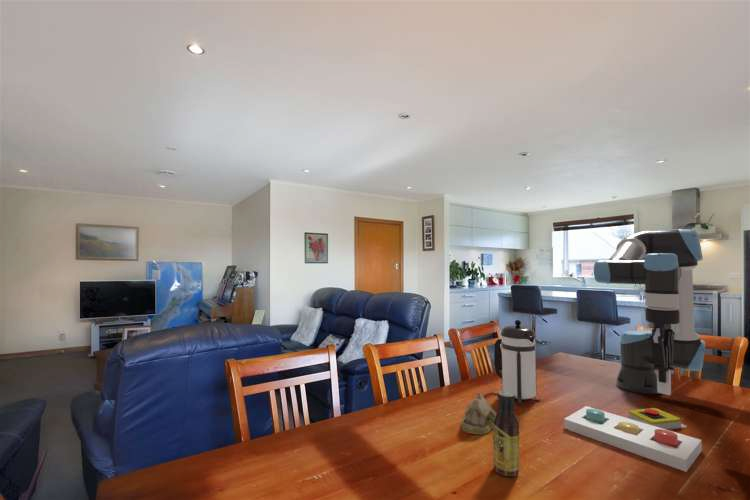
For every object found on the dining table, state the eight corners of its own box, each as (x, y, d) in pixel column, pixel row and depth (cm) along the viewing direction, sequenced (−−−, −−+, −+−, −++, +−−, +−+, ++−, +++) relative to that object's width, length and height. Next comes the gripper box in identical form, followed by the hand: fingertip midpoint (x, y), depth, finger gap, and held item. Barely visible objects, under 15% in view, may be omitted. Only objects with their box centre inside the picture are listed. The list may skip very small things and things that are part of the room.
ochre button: (622, 431, 112) (621, 420, 112) (641, 438, 108) (641, 426, 108) (615, 436, 109) (615, 424, 109) (635, 443, 105) (635, 431, 105)
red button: (657, 439, 105) (657, 427, 105) (680, 446, 101) (679, 433, 101) (652, 445, 102) (651, 432, 102) (674, 452, 98) (674, 439, 98)
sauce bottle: (489, 464, 95) (488, 388, 96) (512, 463, 96) (511, 387, 96) (500, 480, 89) (498, 397, 89) (524, 478, 89) (523, 396, 90)
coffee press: (540, 393, 145) (539, 317, 146) (540, 408, 131) (538, 324, 131) (495, 387, 152) (493, 315, 153) (490, 400, 138) (488, 321, 139)
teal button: (590, 418, 119) (590, 407, 119) (607, 423, 115) (607, 412, 115) (583, 422, 116) (583, 411, 116) (600, 428, 112) (600, 416, 112)
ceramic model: (468, 414, 127) (468, 385, 127) (501, 421, 121) (501, 390, 121) (455, 430, 115) (454, 398, 115) (491, 439, 109) (491, 405, 109)
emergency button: (622, 407, 122) (660, 403, 125) (623, 420, 122) (660, 416, 125) (648, 419, 113) (688, 414, 116) (649, 433, 113) (688, 428, 115)
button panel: (586, 414, 125) (586, 406, 125) (701, 450, 101) (701, 440, 101) (564, 428, 115) (564, 418, 115) (686, 471, 91) (685, 459, 92)
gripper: (653, 305, 109) (655, 384, 108) (637, 308, 101) (639, 394, 100) (685, 307, 103) (687, 391, 102) (671, 311, 95) (674, 403, 95)
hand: (664, 393), depth 101 cm, fingers closed
